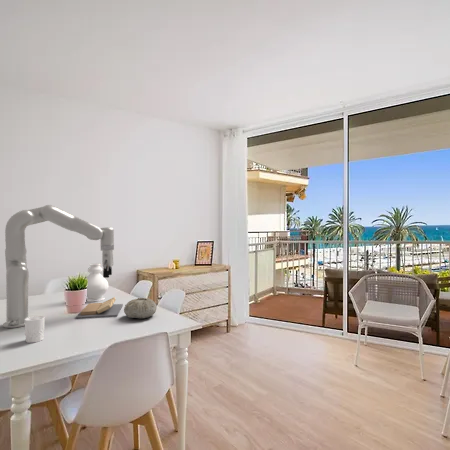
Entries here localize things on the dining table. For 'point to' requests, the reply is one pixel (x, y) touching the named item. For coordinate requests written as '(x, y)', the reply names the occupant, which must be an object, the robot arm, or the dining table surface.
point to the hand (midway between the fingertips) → (107, 276)
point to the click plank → (106, 305)
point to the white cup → (34, 328)
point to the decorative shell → (140, 308)
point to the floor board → (91, 312)
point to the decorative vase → (96, 283)
